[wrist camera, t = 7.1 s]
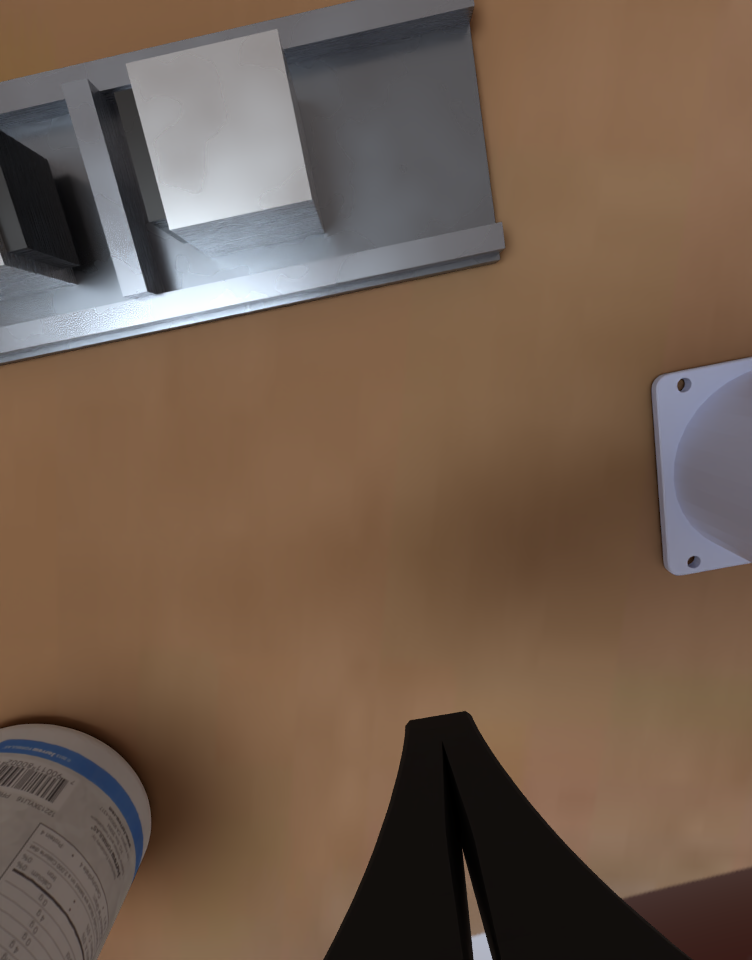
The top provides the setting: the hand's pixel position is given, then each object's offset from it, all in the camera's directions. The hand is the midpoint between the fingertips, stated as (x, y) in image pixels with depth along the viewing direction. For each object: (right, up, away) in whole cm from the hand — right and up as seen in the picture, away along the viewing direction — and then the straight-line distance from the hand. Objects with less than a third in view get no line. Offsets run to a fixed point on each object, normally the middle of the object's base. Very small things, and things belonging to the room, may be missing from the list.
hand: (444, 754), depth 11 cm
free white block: (-6, +16, +6) cm, 18 cm away
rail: (-8, +16, +7) cm, 19 cm away
